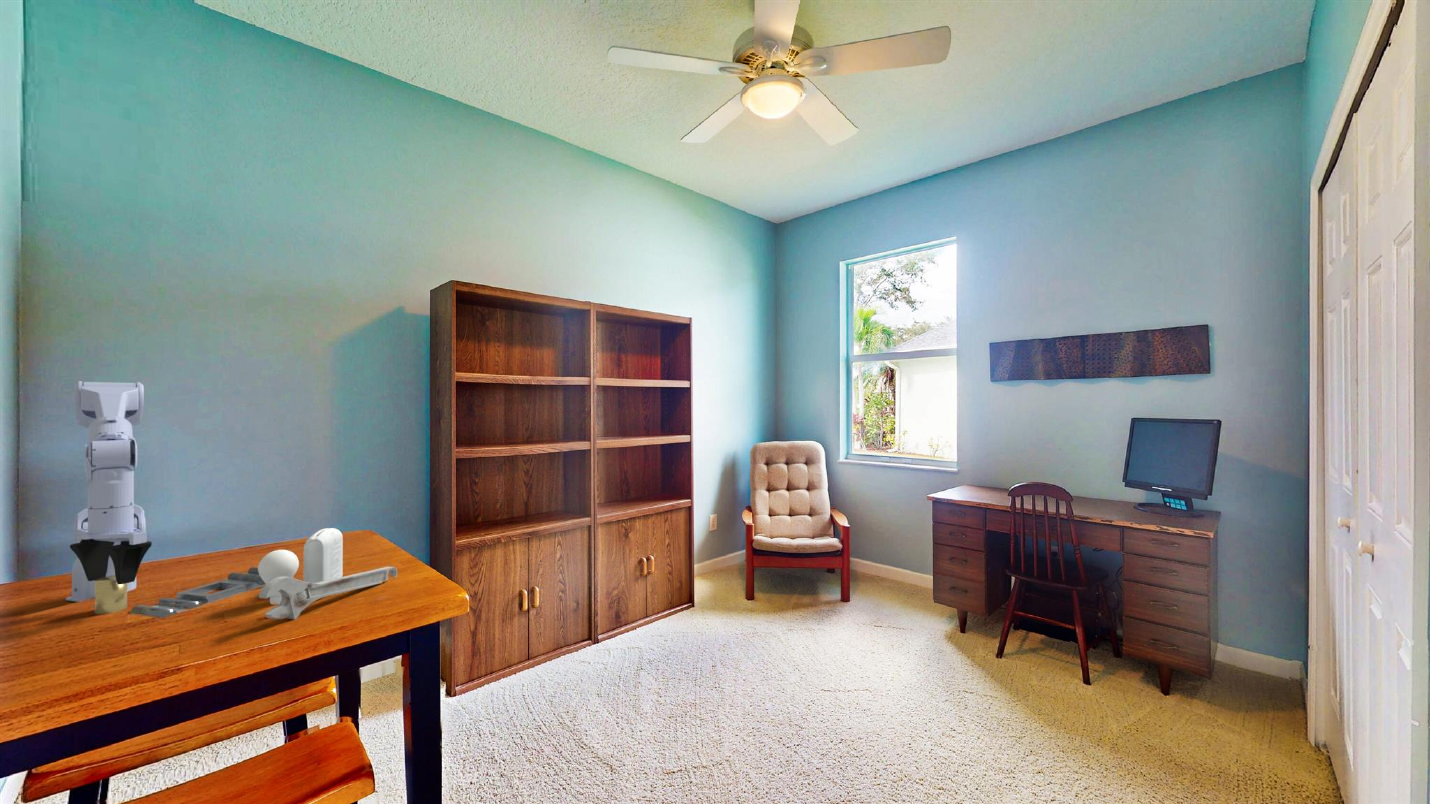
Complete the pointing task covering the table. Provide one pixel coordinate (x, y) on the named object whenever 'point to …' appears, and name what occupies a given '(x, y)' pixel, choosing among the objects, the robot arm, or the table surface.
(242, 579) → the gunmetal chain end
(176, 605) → the steel chain end
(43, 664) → the table surface
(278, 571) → the lightbulb
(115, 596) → the brass pin
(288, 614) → the wrench
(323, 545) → the photo printer
